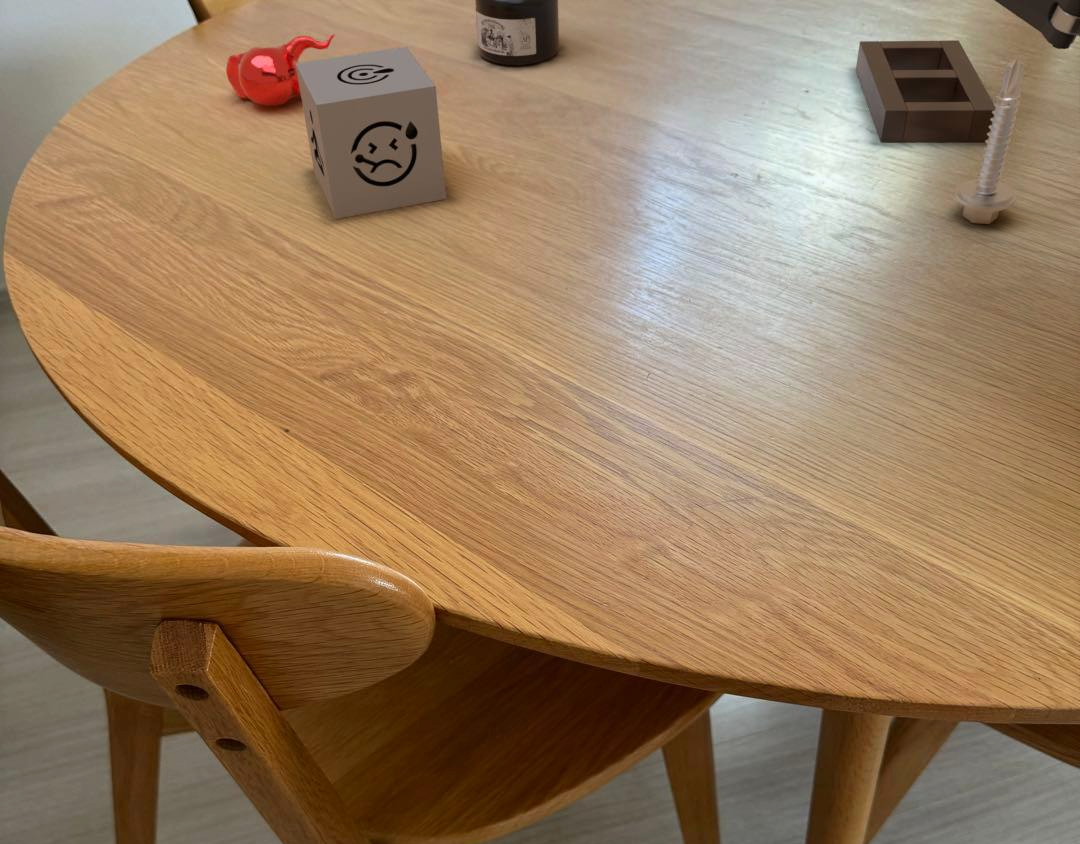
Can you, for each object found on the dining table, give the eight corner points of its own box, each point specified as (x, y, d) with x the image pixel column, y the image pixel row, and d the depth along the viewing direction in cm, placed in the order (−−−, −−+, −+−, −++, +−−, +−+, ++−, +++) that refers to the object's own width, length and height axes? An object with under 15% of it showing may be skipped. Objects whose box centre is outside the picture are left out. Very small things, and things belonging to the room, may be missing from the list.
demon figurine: (217, 41, 119) (331, 19, 120) (235, 100, 123) (346, 79, 124) (215, 64, 113) (336, 41, 114) (234, 126, 117) (350, 103, 118)
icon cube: (418, 154, 110) (406, 46, 103) (446, 198, 103) (435, 85, 96) (314, 172, 108) (295, 63, 101) (335, 219, 100) (316, 105, 94)
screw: (1020, 215, 97) (993, 236, 94) (966, 198, 99) (938, 219, 97) (1062, 56, 88) (1033, 75, 85) (1002, 42, 90) (972, 61, 88)
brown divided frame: (952, 69, 121) (959, 40, 119) (990, 142, 107) (997, 110, 105) (855, 70, 121) (859, 41, 119) (880, 142, 108) (885, 110, 106)
